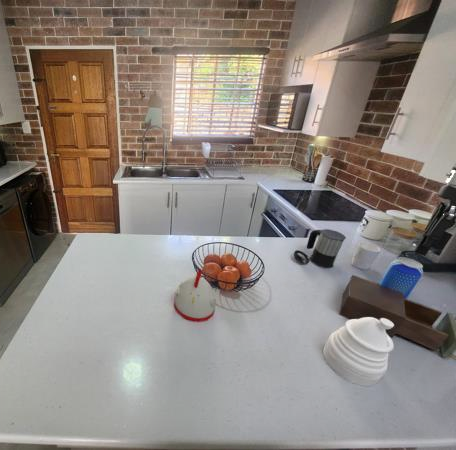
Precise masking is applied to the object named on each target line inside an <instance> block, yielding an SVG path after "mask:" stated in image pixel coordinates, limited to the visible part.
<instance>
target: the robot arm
mask: <svg viewBox="0 0 456 450" xmlns="http://www.w3.org/2000/svg"><path fill="white" fill-rule="evenodd" d="M445 176H446V178H445V180H444V182H445V183H444V184H442V185H441V186H440V188H439V190H438V191H437V194H436V195H437V197H438V198H441V199H443V200H442V201H438V202H437V203H436V206H435V208H434V211H433V212H432V215H430V216H431V217H429V218H430V219H429V221H428V222H427V224H426V226H425V228H424V232H423V234H422V237H421V239H420V240H419V242H418V244H417V245H416V247H415V249H414V250H413V253H414V254H416V255H420V256H424V257H426V255H427V254H428V253H429V251H430V250H431V248H432V246H433V245H434V243H435V241H436V240H437V241H439V240H440V239H441V237H442V236H444V233H445V232H446V231H447V230H448V229H449V227H450V226H451V225H452V224H453V222H454V221H455V220H456V162H455V163H454V165H453V167H452V168H451V169H450V172H446V173H445Z"/></svg>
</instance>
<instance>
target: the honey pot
mask: <svg viewBox="0 0 456 450" xmlns="http://www.w3.org/2000/svg"><path fill="white" fill-rule="evenodd" d="M393 326H394V324H393V323H392V322H391V321H390V320H388V319H385V318H381V319H380V321H379V320H378V319H376V318H373V317H365V318H360V319H348V320H347V321H346V322H345V323H344V325H343V326H341V327H339V328H338V329H337V330H335V331H333V332H332V333H331V334H330V335H329V337H328V338H327V341H326V342H325V344H324V347H322V348H323V349H322V354H323V358H324V360H325V361H326V363H327V364H328V365H329V367H330V368H331V369H332V370H333V371H334V372H335V373H336V374H337V375H338V376H340V377H341V378H343V379H344V380H346V381H348V382H350V383H352V384H354V385H356V386H357V385H358V386H361V387H367V388H369V387H373V386H375V385H377V384H378V383H379V381H380V380H382V378H383V376H384V375H385V373H386V372H387V369H388V367H389V365H388V361H389V359H388V358H389V356H390V354H389V353H391V352H392V351H393V350H394V348H395V346H394V345H395V344H394V342H393V340H392V338H391V337H389V336H388V334H387V333H386V331H385V329H391V328H392V327H393Z"/></svg>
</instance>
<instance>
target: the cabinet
mask: <svg viewBox="0 0 456 450" xmlns="http://www.w3.org/2000/svg"><path fill="white" fill-rule="evenodd" d="M338 315H339V316H342V317H344V318H346V319H348V320H350V319H360V318H365V317H373V318H376V319H378V320H379V321H380V319H381V318H385V319H388V320H390V321H391V322H392V323H393V324H394V326H393V327H392V328H391V329H385V331H386V333H387V334H388V336H389V337H390V338H391V339H393V338H394V336H395V335H396V332H397V330H398V329H399V328H400V326H401V325H402V323H403V322H404V320H405V319H406V315H405V305H404V296H403V293H402V292H399V291H397V290H394V289H391V288H388V287H385V286H382V285H380V284H379V283H377V282H374V281H371V280H368V279H366V278H362V277H360V276H357V275H354V274H352V275H351V277H350V279H349V281H348V282H347V285H346V287H345V289H344V291H343V295H342V299H341V305H340V309H339V312H338Z"/></svg>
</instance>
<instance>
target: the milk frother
mask: <svg viewBox="0 0 456 450" xmlns="http://www.w3.org/2000/svg"><path fill="white" fill-rule="evenodd" d="M317 237H318V239H317ZM346 238H347V237H346V235H344V234H343V233H341V232H339V231H336V230H334V229H329V228H325V229H324V228H323V229H314V230H312V231H311V232H310V233H309V236H308V239H307V244H306V249H308V250H312V249H313V251H312V254H311V256H309V255H307V253H305V252H304V251H302V250H300V249H296V250H294V252H293V257H294V259H295V261H296V262H297V263H299V264H301V265H309V263H310V261H311V262H312V263H313V264H314V265H316V266H318V267H320V268H326V269H331V268H333V267H334V263H335V261H336V258H337V256H338V254H339V252H340V250H341V247H342V245H343V243H344V241H345V240H347V239H346ZM316 241H317V242H316ZM315 243H316V244H315ZM301 255H302V256H303V257H304V258H303V257H302V256H301ZM305 260H306V261H305Z"/></svg>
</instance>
